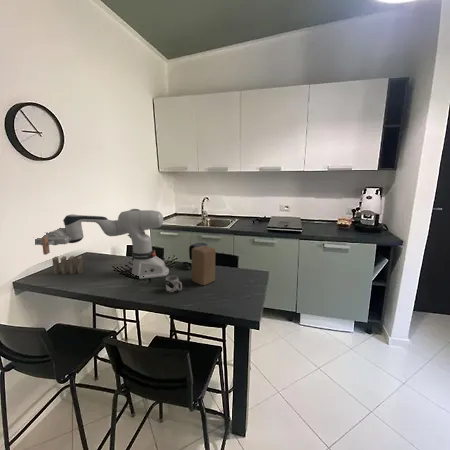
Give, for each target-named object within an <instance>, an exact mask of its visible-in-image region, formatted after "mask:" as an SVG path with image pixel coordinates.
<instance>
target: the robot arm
mask: <svg viewBox="0 0 450 450" xmlns="http://www.w3.org/2000/svg"><path fill="white" fill-rule="evenodd" d="M62 222H63V225H64V227H65V228H61V227H58V228H59V229H58V228H57V230H56V229H55V230H53V231H49V233H48V232H45V233H46V235H44V236H43V237H45V236H48V242H46V245H49V246H50V245H51V246H58V245H67V244H75V243H78V242H81V241H82V240H83V238H84V231H83V225H82V223H85V222H86V223H96V224H98V226H99V227H100V229H101V230H102V232H103V233H104V234H105V235H106V236H107V237H117V236H123V235H126V234H127V235H126V236H127V237H129V238H130V239H131V244H132V251H131V255H132V256H131V259H132V268H131V270H132V271H131V273H132V274H134V275H137V276H139V278H138V279H140V280H141V279H142V280H143V279H152V278H159V277H161V278H162V277H167V276H169V272H170V268H169V267H167V266H166V263H165V261H164V259H161V258H159V257H158V256H157V255H156V254H157V253H156V250H154V249H153V244H152V238H151V236H150V235H148V234H146V232H145V231H148V230H153V229H158V228H161V227H162V226H163V224H164V216H163V214H162V213H161V212H160V211H158V210H148V209H147V210H145V209H143V210H141V209H138V208H131V209H129V210H126V211H121V212H120V213H119V215H118V217H117V220H116V219H115V220H111V219H108V217H106V216H99V215H82V214H81V215H80V214H79V215H78V214H67V215H65V217H64V218H63V220H62ZM43 237H42V238H43ZM42 238H37V239H35V245H34V246H42ZM132 274H131V275H132ZM143 276H144V277H143Z"/></svg>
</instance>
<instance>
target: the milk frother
mask: <svg viewBox="0 0 450 450" xmlns="http://www.w3.org/2000/svg"><path fill="white" fill-rule="evenodd" d="M200 246H208V244H207V243H205V242H195V243H193V244H191V245H190V246H189V248H188V254H189V260H190V261H192V249H193V248H196V247H200ZM181 265H182V268H183V269H185V270H192V262H188V261H183V262H182V263H181Z"/></svg>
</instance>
